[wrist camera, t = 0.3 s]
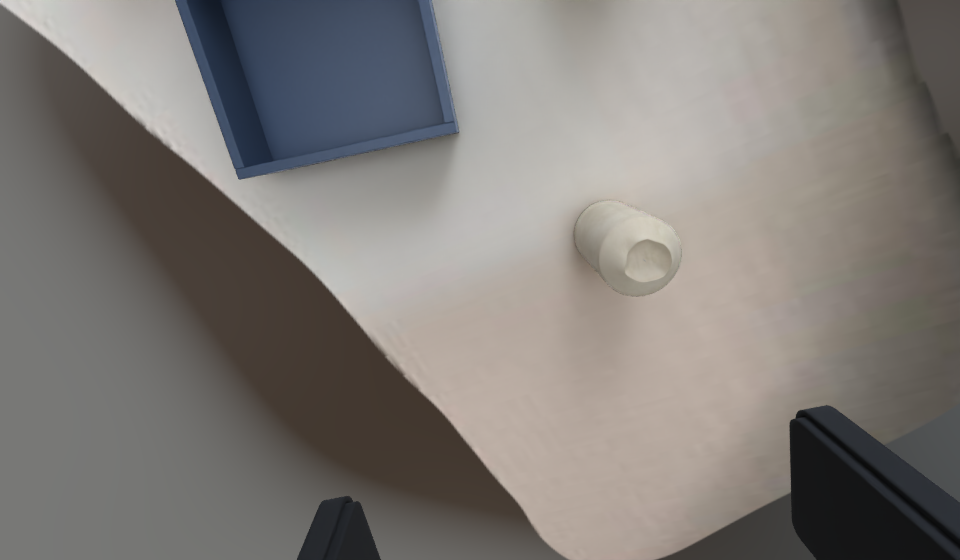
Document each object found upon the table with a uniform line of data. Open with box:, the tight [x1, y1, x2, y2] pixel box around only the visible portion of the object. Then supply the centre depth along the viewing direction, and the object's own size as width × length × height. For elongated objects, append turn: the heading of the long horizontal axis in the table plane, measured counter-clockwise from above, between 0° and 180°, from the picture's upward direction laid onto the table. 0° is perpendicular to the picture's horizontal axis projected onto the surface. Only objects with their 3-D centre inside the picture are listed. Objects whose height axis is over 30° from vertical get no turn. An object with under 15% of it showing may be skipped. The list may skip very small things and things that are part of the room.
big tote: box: [175, 0, 459, 179], centre depth 33 cm, size 13×15×6 cm
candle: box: [574, 200, 682, 297], centre depth 35 cm, size 6×6×10 cm
